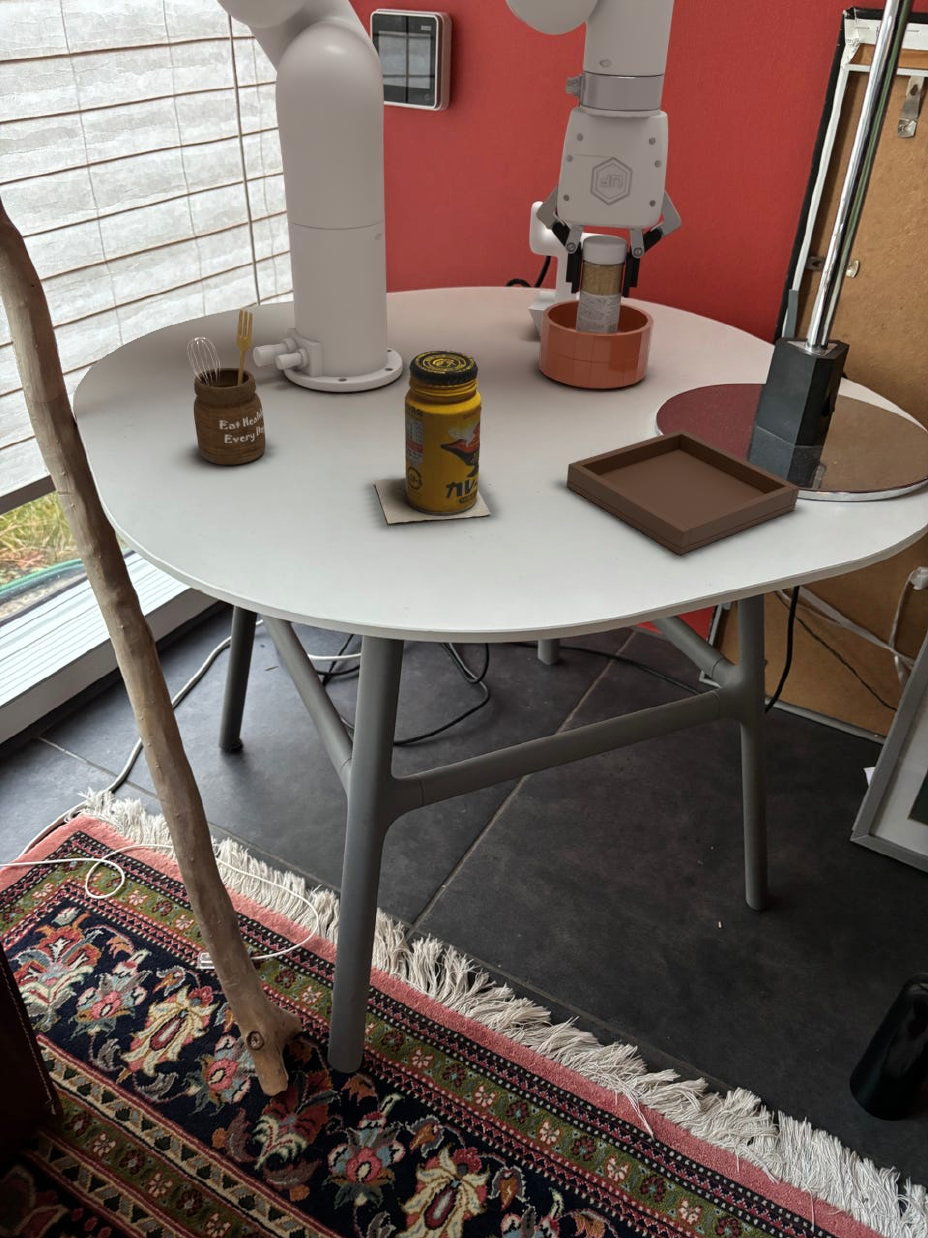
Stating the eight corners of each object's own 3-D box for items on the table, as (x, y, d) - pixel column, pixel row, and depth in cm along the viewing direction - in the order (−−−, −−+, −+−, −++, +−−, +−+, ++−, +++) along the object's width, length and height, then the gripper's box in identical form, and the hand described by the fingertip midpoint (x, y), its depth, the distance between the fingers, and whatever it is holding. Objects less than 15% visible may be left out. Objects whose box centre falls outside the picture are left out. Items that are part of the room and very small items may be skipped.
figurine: (596, 348, 112) (612, 210, 104) (517, 338, 114) (525, 202, 106) (606, 328, 118) (621, 196, 109) (530, 319, 120) (538, 189, 111)
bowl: (586, 400, 100) (592, 342, 96) (517, 364, 107) (520, 310, 104) (667, 377, 105) (676, 322, 102) (596, 345, 113) (602, 293, 110)
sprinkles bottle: (592, 357, 109) (605, 230, 101) (622, 369, 106) (638, 240, 98) (562, 365, 106) (573, 237, 99) (592, 378, 104) (606, 247, 96)
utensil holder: (185, 453, 87) (164, 321, 80) (238, 431, 92) (223, 303, 85) (230, 473, 85) (212, 337, 78) (282, 449, 89) (271, 317, 82)
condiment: (490, 516, 80) (497, 374, 73) (387, 525, 78) (384, 381, 71) (470, 475, 85) (474, 341, 78) (374, 483, 84) (370, 346, 77)
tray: (679, 555, 75) (683, 532, 74) (566, 486, 84) (568, 463, 83) (794, 509, 82) (800, 487, 81) (678, 449, 91) (681, 428, 90)
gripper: (526, 94, 89) (515, 296, 100) (715, 104, 87) (683, 309, 97) (535, 84, 95) (524, 275, 106) (712, 93, 93) (682, 287, 103)
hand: (600, 289), depth 101 cm, fingers closed on sprinkles bottle, 4 cm apart
